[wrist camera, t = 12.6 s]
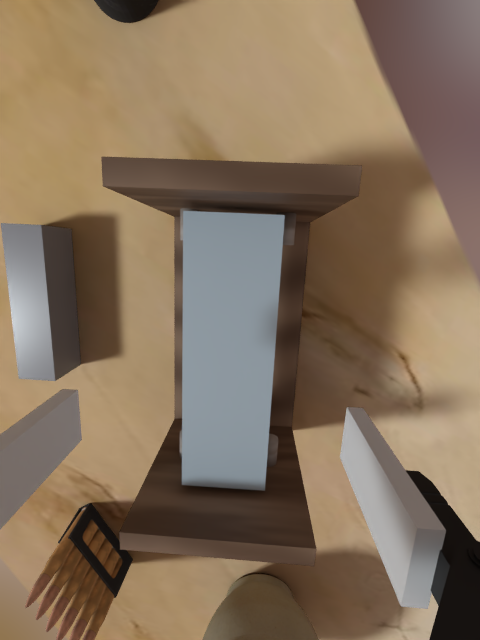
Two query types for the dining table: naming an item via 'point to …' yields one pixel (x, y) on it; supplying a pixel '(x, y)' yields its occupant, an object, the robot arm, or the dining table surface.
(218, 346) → the shelf board
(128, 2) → the travel mug
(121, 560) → the ammunition clip
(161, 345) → the dining table surface
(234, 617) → the planter bowl
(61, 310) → the grey rectangular block
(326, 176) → the shelf frame
